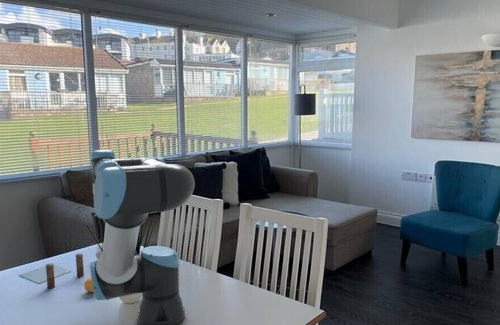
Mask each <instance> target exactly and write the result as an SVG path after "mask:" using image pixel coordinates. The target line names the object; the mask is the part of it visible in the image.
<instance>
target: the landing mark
mask: <svg viewBox="0 0 500 325" xmlns="http://www.w3.org/2000/svg"><path fill="white" fill-rule="evenodd" d="M71 272H72V270H69V269H67V268H64V267H61V266H60V265H59V266H58V265H56V264H54V279H55V278H57V277H60V276H63V275H66V274H68V273H71ZM18 276H19V277H22V278H24V279H26V280H28V281H31V282H33V283H36V284H41V283H44V282H47V275H46V265H44V266H42V267H39V268H36V269H33V270H30V271H27V272H24V273H22V274H19V275H18Z"/></svg>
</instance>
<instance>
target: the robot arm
mask: <svg viewBox="0 0 500 325" xmlns="http://www.w3.org/2000/svg"><path fill="white" fill-rule="evenodd" d="M90 162H91V171H92V172H91V174H92V194H93V207H94V211H93V212H91V217H92V219H93V226H94V230H95V233H96V239H97V240H100V243H101V244H102V250H103V254H102V255H101V256H100V257H99V259H97V260H95V261H92V262H90V265H89V266H90V267H89V268H90V269H89V270H90V277H91V279H92V285H93V291H94V292H93V295H94V296H93V297H94V298H95V299H96V300H97V301H109V300H111V299H116V298H122V297H127V296H131V295H136V294H141V293H142V294H141V295H142V297H141V301H140V303H139V307H138V308H139V309H138V310H137V315H136V316H137V324H138V325H180V324H181V323H182V322H183V321H184V319H185V318H186V310H185V306H184V304H183V301H182V297H181V295H180V277H179V273H180V272H179V268H180V262H179V256H178V252H177V251H176V250H174V249H172V248H171V247H168V246H161V245H152V246H146V247H142V249H141V251H140V252H139V254H136V255H135V253H136V248H137V244H138V237H139V232H140V229H141V225H143V224H144V223H145V222H146V220H148V217H149V214H155V213H162V212H169V211H172V210H175V209H178V208H180V207H182V206H183V205H185V203H187V201H188V200H190V198H191V196H192V195H193V192H194V190H195V186H196V185H195V184H196V183H195V178H194V175H193V173H192V172H191V171H190V170H189V169H188V168H187V167H185V166H184V165H181V164H178V163H166V161H165V159H164V158H163V157H161V156H150V157H136V158H132V157H131V158H116V156H115V151H114V150H112V149H97V150H93V151H92V152H91V160H90Z"/></svg>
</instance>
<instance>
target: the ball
mask: <svg viewBox="0 0 500 325" xmlns="http://www.w3.org/2000/svg"><path fill="white" fill-rule="evenodd" d="M83 287H84V289H85V290H86V291H87V292H88V293H94V291H93V285H92V279H91V276H90V277H87V278H86V280H85V281H84V284H83Z"/></svg>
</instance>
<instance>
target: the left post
mask: <svg viewBox="0 0 500 325" xmlns="http://www.w3.org/2000/svg"><path fill="white" fill-rule="evenodd" d="M54 265H55V264H54V263H52V262H51V263H47V264H46V265H45V266H46V275H47V281H46V288H47V289H48V290H53V289H54V288H55V287H56V285H55V284H56V283H55V278H54Z"/></svg>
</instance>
